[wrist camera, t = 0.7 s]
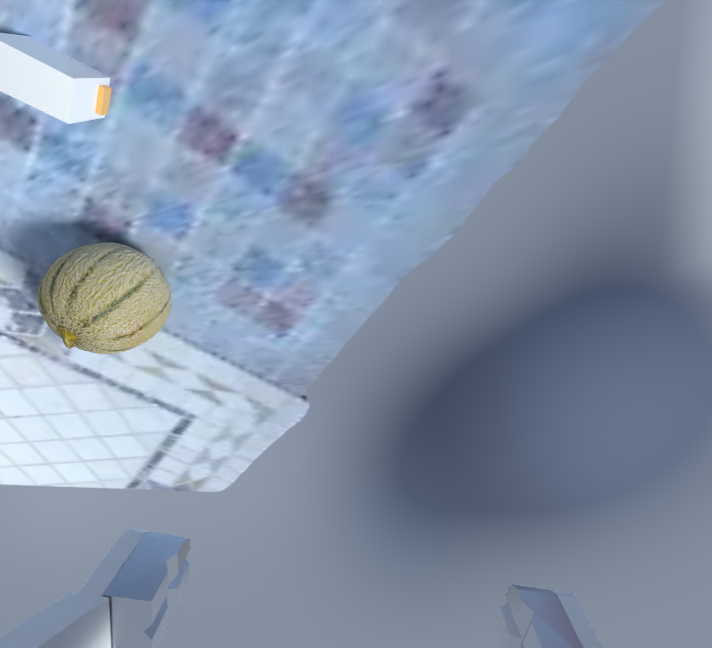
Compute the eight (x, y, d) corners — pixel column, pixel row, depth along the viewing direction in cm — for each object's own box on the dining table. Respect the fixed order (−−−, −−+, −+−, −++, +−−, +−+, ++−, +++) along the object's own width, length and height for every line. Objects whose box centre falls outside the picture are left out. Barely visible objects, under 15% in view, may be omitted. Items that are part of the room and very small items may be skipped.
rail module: (32, 36, 41) (-21, 30, 35) (116, 80, 43) (80, 81, 37) (29, 80, 43) (-20, 81, 37) (110, 120, 45) (75, 127, 39)
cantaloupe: (194, 250, 55) (148, 302, 42) (177, 327, 62) (135, 391, 49) (83, 210, 51) (-3, 254, 39) (80, 296, 58) (7, 357, 46)
